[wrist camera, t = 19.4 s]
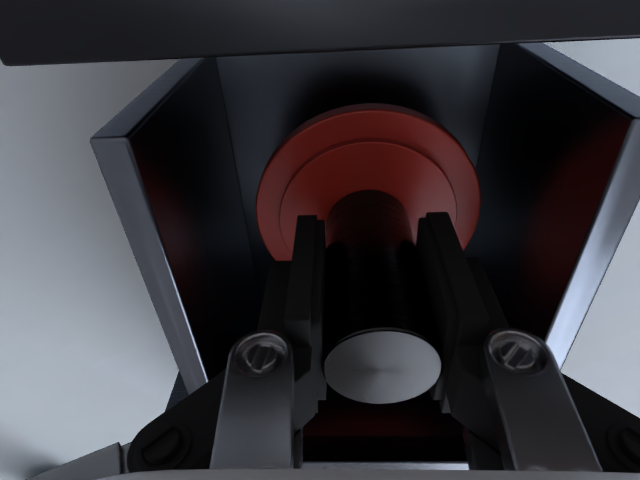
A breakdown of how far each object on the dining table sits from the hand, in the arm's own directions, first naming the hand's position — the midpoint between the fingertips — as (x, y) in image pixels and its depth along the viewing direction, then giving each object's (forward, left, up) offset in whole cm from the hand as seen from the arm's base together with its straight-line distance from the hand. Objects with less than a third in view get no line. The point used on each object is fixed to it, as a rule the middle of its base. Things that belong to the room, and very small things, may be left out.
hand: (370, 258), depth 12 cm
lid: (0, 0, -3) cm, 3 cm away
